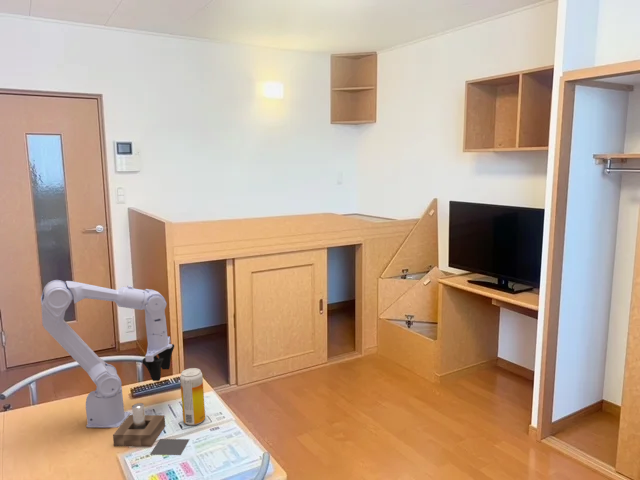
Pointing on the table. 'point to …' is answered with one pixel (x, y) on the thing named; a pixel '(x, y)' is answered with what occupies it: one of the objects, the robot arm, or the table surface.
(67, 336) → the robot arm
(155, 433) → the walnut block
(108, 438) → the table surface
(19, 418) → the table surface
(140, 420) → the steel peg
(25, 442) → the table surface
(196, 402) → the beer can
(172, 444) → the rubber mat
